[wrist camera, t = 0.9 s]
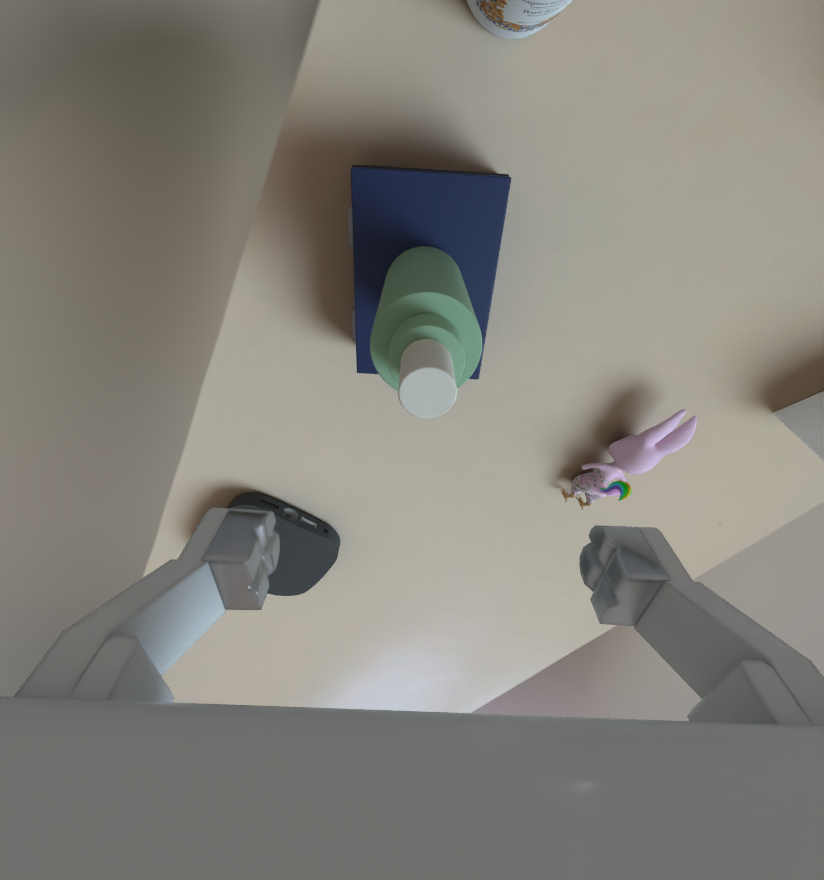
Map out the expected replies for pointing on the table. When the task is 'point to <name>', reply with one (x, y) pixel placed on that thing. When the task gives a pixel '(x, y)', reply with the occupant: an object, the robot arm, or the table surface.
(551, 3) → the bath foam
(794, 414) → the toilet paper
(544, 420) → the table surface
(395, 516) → the table surface
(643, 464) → the pink toy figurine
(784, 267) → the table surface
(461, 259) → the case
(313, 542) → the media streaming box
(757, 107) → the table surface
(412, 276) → the bottle
